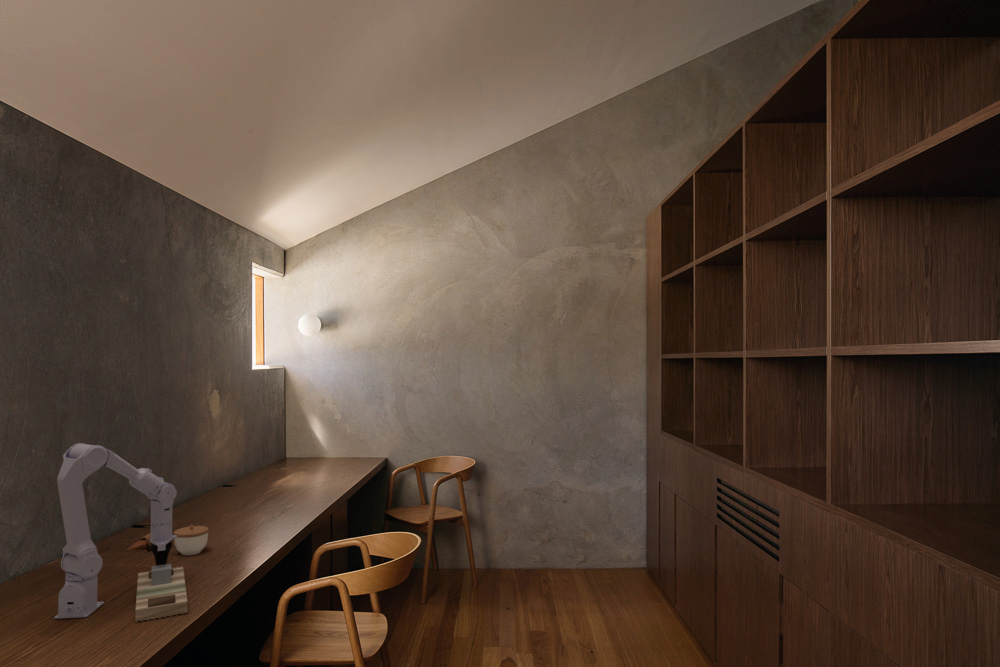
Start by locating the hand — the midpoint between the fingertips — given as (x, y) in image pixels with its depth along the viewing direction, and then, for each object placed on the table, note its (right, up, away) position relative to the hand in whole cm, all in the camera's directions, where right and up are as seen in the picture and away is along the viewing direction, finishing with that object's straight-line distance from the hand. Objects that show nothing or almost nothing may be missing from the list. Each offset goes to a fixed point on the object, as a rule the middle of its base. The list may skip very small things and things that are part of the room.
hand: (161, 568), depth 193 cm
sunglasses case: (-25, -6, +40) cm, 47 cm away
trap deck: (+5, -4, -10) cm, 12 cm away
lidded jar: (-5, -6, +30) cm, 31 cm away
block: (+3, -1, -6) cm, 7 cm away
